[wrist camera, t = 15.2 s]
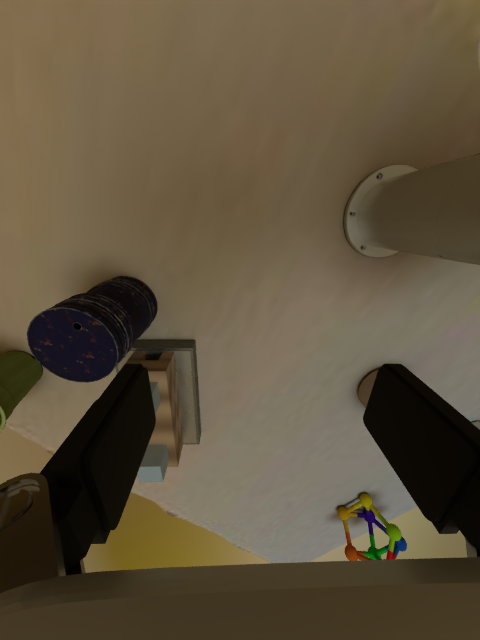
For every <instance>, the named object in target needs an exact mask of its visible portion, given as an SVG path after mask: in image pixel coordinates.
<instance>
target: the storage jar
mask: <svg viewBox="0 0 480 640" xmlns="http://www.w3.org/2000/svg"><path fill="white" fill-rule="evenodd" d="M156 314H157V300H156V297H155V295H154V293H153V292H152V290H151V289H150V288H149V287H148V286H147V285H146V284H145V283H143V282H142V281H140V280H138V279H136V278H132V277H127V276H120V277H116V278H113V279H111V280H108V281H105V282H102V283H100V284H99V285H97V286H95V287H93V288H92V289H90V290H89V291H88V292H87V293H83V294H78V295H75V296H72V297H70V298H69V299H66V300H64V301H62V302H60V303H58V304H56V305H55V306H53V307H52V308H49V309H47V310H45V311H43V312H41V313H39V314H38V315H37V316H35V317H34V318H33V320H32V321H31V322H30V325H29V327H28V331H27V340H28V345H29V347H30V350H31V352H32V354H33V355H34V357H35V358H36V359H37V361H38V362H39V363H40V364H41V365H42V366H43V367H44V368H46V369H47V370H48V371H50V372H51V373H53V374H55V375H57V376H59V377H61V378H64V379H67V380H70V381H74V382H94V381H97V380H100V379H102V378H105V377H106V376H107V375H109V374H110V373H111V372H112V371H113V370H114V368H115V367H116V366H117V364H118V363H120V362H121V361H122V360H123V358H124V357H125V356H126V355H127V353H128V352H129V351H130V350H131V348H132V347H133V344H134V342H135V340H136V339H137V338H139V337H140V336H141V335H142V334H143V333H144V332H145V331H146V330H147V328H148V327H149V326H150V324H151V322H152V321H153V320H154V318H155V316H156Z"/></svg>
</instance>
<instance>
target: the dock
mask: <svg viewBox="0 0 480 640" xmlns="http://www.w3.org/2000/svg"><path fill="white" fill-rule="evenodd" d="M133 352H145V354H146V360H159V358H160V356H161V355H162V353H163V352H174V355H175V364H176V374H177V383H178V393H179V402H180V412H181V421H182V431H183V440H184V441H183V444H199V443H200V437H201V423H200V406H199V390H198V374H197V358H196V342H195V340H135V342H134V344H133V347H132V348H131V350H130V351H129V352H128V353H127V355H126V356H125V357H124V358H123V360H122V361H121V362H120V363H118V364H117V366H116V371H117V374H118V373H119V371H120V370H121V368H122V367H123V366H124V364H125V363H126V362H127V360H128V359H129V358H130V356H131V355H132V354H133Z"/></svg>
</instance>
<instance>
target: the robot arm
mask: <svg viewBox="0 0 480 640" xmlns="http://www.w3.org/2000/svg"><path fill="white" fill-rule="evenodd" d="M376 176H377V178H376ZM350 212H351V215H350ZM344 230H345V234H346V237H347V240H348V242H349V243H350V245H351V246H352V247H353V248H354V249H355V250H356V251H357V252H359V253H360V254H363V255H365V256H369V257H374V258H382V257H388V256H391V255H394V254H396V253H398V252H400V251H401V252H407V253H412V254H418V255H424V256H430V257H436V258H441V259H447V260H453V261H459V262H464V263H470V264H477V265H480V153H478V154H475V155H471V156H468V157H464V158H461V159H457V160H453V161H450V162H446V163H443V164H439V165H435V166H432V167H428V168H425V169H421V170H418V169H416V168H414V167H412V166H410V165H403V164H398V165H391V166H387V167H384V168H382V169H379V170H377V171H375V172H373V173H372V174H370V175H369V176H367V177H366V178H365V179H364V180H363V181H362V182H361V183H360V184H359V185H358V187H357V188H356V189H355V190H354V192H353V194H352V195H351V197H350V199H349V202H348V204H347V206H346V210H345V215H344ZM361 246H362V247H361ZM360 247H361V248H360ZM363 421H364V424H365V426H366V428H367V429H368V431H369V432H370V434H371V435H372V437H373V439H374V440H375V442H376V443H377V445H378V446H379V448H380V449H381V451H382V452H383V454H384V455H385V457H386V458H387V460H388V461H389V463H390V465H391V466H392V468H393V469H394V471H395V472H396V474H397V475H398V477H399V478H400V480H401V481H402V483H403V484H404V486H405V487H406V489H407V491H408V492H409V494H410V495H411V497H412V498H413V500H414V501H415V503H416V504H417V506H418V507H419V509H420V510H421V512H422V513H423V515H424V516H425V517H426V518H427V519H428V520H429V521H431V522H432V523H433V525H434V526H435V528H436V529H437V531H438V532H439V534H454V533H457V532H458V531H459V530H460V531H461V533H462V534H463V535H464V537H465V540H466V549H467V558H433V559H394V560H362V561H333V562H332V561H331V562H302V563H272V564H246V565H223V566H196V567H170V568H153V569H137V570H119V571H105V572H104V571H103V572H92V573H85V568H84V562H83V558H84V557H85V556H86V554H87V552H88V550H89V548H90V545H91V544H105V542H106V540H107V538H108V535H109V533H110V530H115V528H116V527H117V525H118V523H119V521H120V518H121V516H122V513H123V510H124V507H125V505H126V502H127V499H128V497H129V494H130V492H131V489H132V486H133V484H134V481H135V478H136V476H137V473H138V471H139V468H140V465H141V463H142V460H143V457H144V455H145V452H146V449H147V447H148V444H149V441H150V439H151V436H152V433H153V431H154V428H155V424H156V416H155V410H154V404H153V398H152V392H151V386H150V380H149V374H148V369H147V368H146V367H143V365H142V364H125V365H124V366H123V367H122V369H121V370H120V371H119V373H118V374H117V375H116V376H115V378H114V379H113V380H112V382H111V383H110V384H109V386H108V387H107V388H106V390H105V391H104V392H103V394H102V395H101V396H100V398H99V399H98V400H96V401H95V402H94V403H93V404H92V406H91V407H90V408H89V410H88V411H87V412H86V414H85V415H84V416H83V417H82V419H81V420H80V421H79V423H78V424H77V425H76V427H75V428H74V429H73V430H72V432H71V433H70V434H69V436H68V437H67V438H66V440H65V441H64V442H63V443H62V445H61V446H60V447H59V449H58V450H57V451H56V453H55V454H54V455H53V457H52V458H51V459H50V460H49V462H48V463H47V464H46V466H45V467H44V468H43V470H42V471H41V472H40V473H28V474H23V475H19V476H17V477H14V478H12V479H10V480H7V481H6V482H4V483H2V484H1V485H0V640H480V429H478V428H477V427H476V426H475V425H474V424H472V423H471V422H470V421H469V420H468V419H466V418H465V417H464V416H463V415H462V414H460V413H459V412H458V411H457V410H456V409H454V408H453V407H452V406H451V405H450V404H449V403H447V402H446V401H445V400H444V399H443V398H441V397H440V396H439V395H438V394H437V393H435V392H434V391H433V390H432V389H431V388H429V387H428V386H427V385H426V384H425V383H423V382H422V381H421V380H420V379H419V378H417V377H416V376H415V375H414V374H413V373H412V372H410V371H409V370H408V369H407V368H406V367H404V366H403V365H401V364H384V365H383V366H382V367H381V368H379V370H378V372H377V375H376V378H375V381H374V385H373V388H372V391H371V394H370V397H369V400H368V403H367V406H366V410H365V413H364V416H363Z"/></svg>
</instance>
